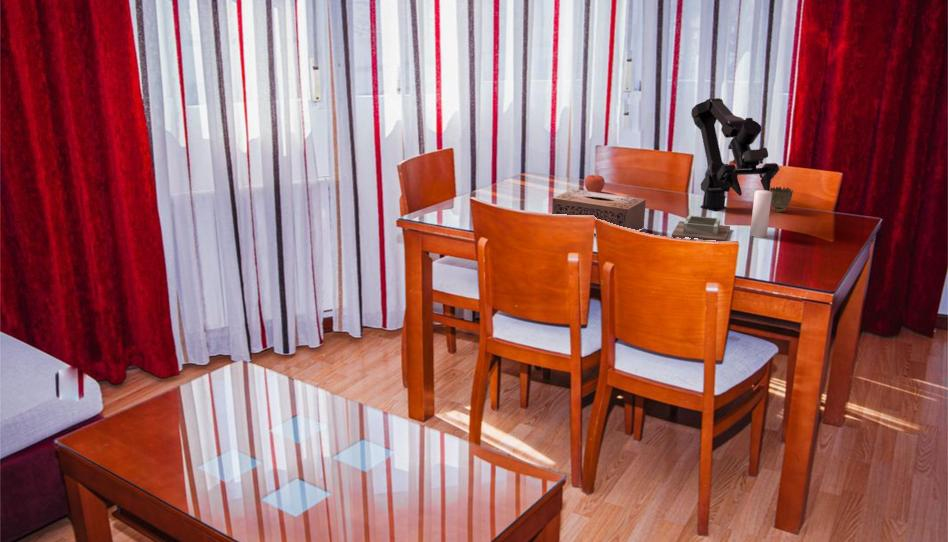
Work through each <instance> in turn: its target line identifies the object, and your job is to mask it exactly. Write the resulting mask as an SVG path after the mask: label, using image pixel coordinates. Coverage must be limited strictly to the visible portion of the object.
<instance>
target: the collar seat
mask: <svg viewBox="0 0 948 542" xmlns="http://www.w3.org/2000/svg"><path fill="white" fill-rule="evenodd" d="M730 229H731V225H722V224H721V218H718V217H709V216H708V217H707V216H698V215H690V214H688V215H687V217H686V219H685V220H684V221H680V220H679V222H678V223H677V225H676V226H675V228H674V229H673V232H671V238H672V237H679V238H685V237H689V238H691V239H694V238H698V239H703V240H716V241H727V239H726V238H728V235H729V233H730V231H729V230H730Z"/></svg>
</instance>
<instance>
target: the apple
mask: <svg viewBox="0 0 948 542" xmlns="http://www.w3.org/2000/svg"><path fill="white" fill-rule="evenodd" d="M605 183H606V182H605V178H604V177H603V176H601V175H599V173H597V174H590V175H587V176H586V177H585V179H584V186H585V189H586V191H590V192H597V193H602V190H604V186H605Z"/></svg>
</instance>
